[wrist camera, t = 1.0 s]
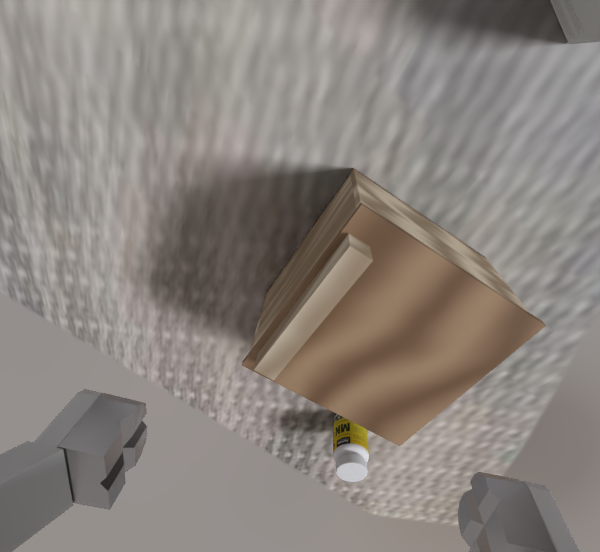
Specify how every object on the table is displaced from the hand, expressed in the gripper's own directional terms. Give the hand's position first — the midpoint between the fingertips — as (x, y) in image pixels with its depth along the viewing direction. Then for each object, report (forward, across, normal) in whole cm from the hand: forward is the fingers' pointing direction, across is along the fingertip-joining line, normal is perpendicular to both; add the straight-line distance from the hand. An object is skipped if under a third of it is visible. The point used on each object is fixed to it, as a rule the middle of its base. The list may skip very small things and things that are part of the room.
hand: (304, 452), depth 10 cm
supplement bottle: (+36, -8, +35) cm, 51 cm away
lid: (+22, -7, +12) cm, 26 cm away
